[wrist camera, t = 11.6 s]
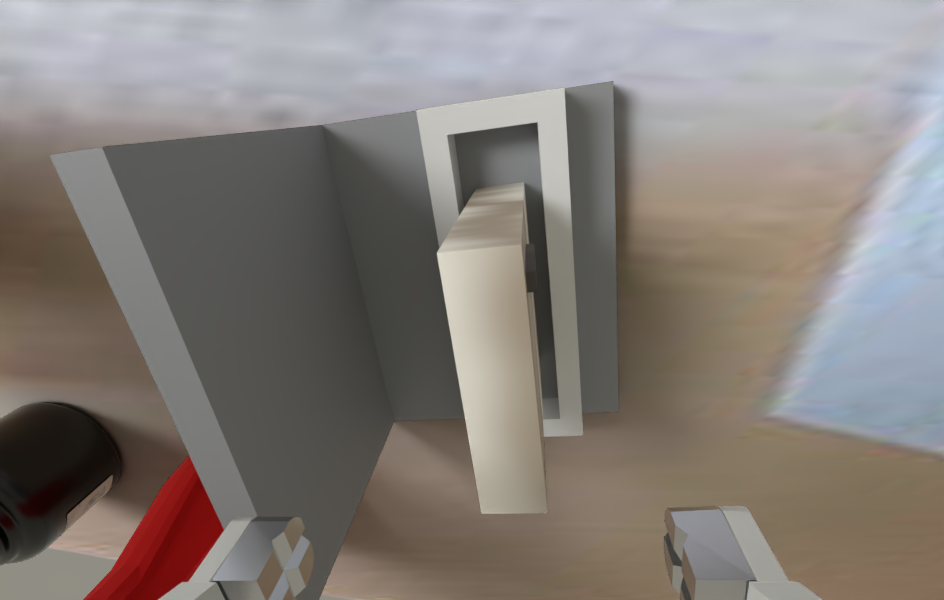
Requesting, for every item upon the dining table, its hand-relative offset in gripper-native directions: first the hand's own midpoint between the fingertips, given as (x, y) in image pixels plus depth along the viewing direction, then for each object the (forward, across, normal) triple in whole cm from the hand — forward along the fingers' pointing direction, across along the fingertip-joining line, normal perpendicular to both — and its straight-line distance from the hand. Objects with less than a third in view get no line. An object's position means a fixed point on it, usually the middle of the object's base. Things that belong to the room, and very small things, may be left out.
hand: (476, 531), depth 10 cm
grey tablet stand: (+17, +2, 0) cm, 17 cm away
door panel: (+16, 0, 0) cm, 16 cm away
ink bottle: (+18, +35, +11) cm, 41 cm away
